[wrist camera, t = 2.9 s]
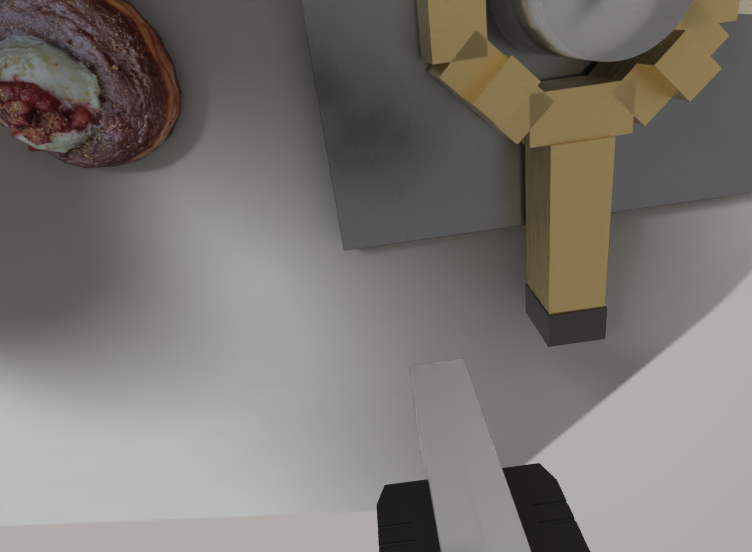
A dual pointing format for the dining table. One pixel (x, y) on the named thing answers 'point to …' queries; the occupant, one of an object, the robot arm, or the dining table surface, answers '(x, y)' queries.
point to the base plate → (486, 145)
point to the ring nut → (568, 141)
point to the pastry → (85, 80)
